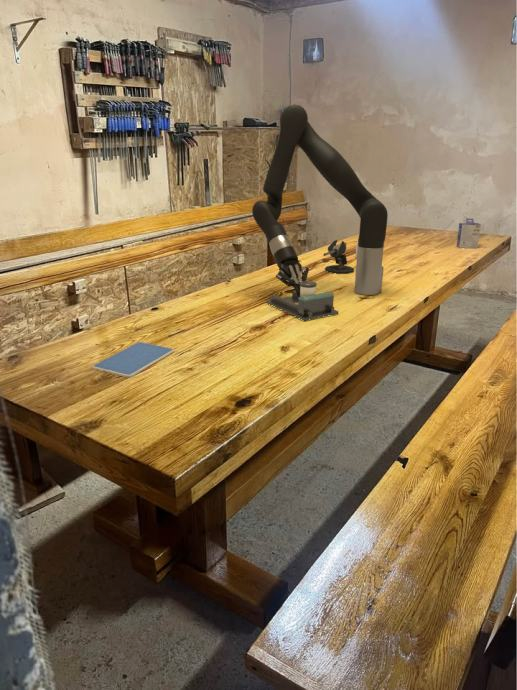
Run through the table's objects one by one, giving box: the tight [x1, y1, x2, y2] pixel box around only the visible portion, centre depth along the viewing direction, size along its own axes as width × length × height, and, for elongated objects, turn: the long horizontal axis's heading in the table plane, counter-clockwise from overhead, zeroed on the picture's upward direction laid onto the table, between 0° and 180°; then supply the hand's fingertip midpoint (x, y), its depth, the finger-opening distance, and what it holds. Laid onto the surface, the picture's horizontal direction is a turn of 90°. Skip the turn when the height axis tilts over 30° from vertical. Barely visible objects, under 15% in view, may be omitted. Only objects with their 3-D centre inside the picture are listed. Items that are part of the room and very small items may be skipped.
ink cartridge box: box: [456, 218, 482, 249], centre depth 279 cm, size 10×6×14 cm, turn 89°
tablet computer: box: [91, 341, 175, 379], centre depth 141 cm, size 19×13×1 cm, turn 153°
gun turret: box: [322, 239, 355, 275], centre depth 228 cm, size 13×20×13 cm, turn 146°
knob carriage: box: [294, 280, 317, 305], centre depth 178 cm, size 7×6×8 cm
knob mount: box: [266, 290, 340, 321], centre depth 181 cm, size 14×22×7 cm, turn 32°
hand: (302, 295), depth 180 cm, fingers closed
